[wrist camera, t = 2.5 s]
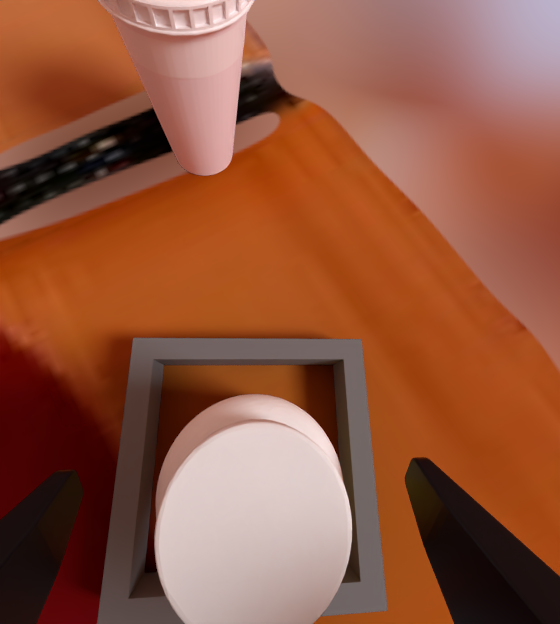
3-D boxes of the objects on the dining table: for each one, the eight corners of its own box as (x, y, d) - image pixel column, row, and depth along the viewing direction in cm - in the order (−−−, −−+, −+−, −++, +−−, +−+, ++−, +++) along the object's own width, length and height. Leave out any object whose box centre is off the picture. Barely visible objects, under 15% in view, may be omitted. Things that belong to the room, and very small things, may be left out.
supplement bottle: (214, 542, 14) (154, 783, 5) (179, 424, 16) (80, 444, 6) (321, 489, 15) (434, 608, 6) (280, 383, 17) (321, 349, 7)
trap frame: (368, 584, 14) (387, 610, 12) (117, 603, 13) (95, 635, 11) (349, 347, 18) (361, 339, 16) (146, 346, 17) (133, 337, 15)
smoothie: (132, 150, 20) (-89, -350, 7) (204, 100, 22) (139, -372, 9) (204, 211, 19) (111, -224, 6) (272, 153, 21) (315, -276, 8)
